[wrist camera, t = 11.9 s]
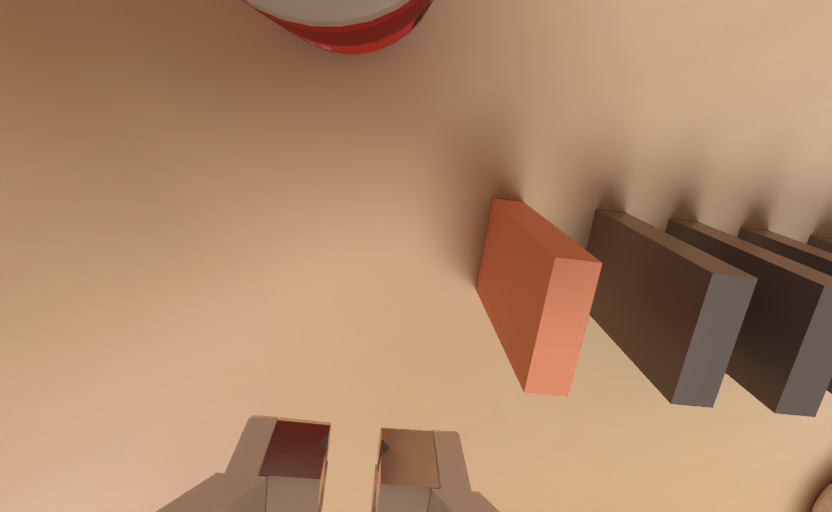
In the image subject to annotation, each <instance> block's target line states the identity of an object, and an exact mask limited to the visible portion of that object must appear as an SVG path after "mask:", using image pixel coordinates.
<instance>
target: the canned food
mask: <svg viewBox="0 0 832 512" xmlns="http://www.w3.org/2000/svg"><path fill="white" fill-rule="evenodd" d="M242 1H244V2H245V3H247V4H248V5H250V6H251V7H253V8H254V9H256V10H257V11H259V12H260V13H262V14H263V15H265V16H266V17H268V18H270V19H271V20H273V21H274V22H276V23H278V24H279V25H281V26H282V27H284V28H286V29H287V30H289V31H290V32H292V33H294V34H295V35H297V36H299V37H300V38H302V39H303V40H305V41H307V42H308V43H310V44H313V45H315V46H317V47H320V48H322V49H325V50H329V51H333V52H338V53H349V54H361V53H366V52H371V51H376V50H379V49H382V48H384V47H386V46H389V45H391V44H393V43H395V42H396V41H398V40H399V39H401V38H402V37H404V36H405V35H407V34H408V33H409V32H410V31H411V30H412V29H413V28H414V27H415V26H416V25H417V24H418V23H419V22H420V21H421V19H422V17H423V16H424V14H425V13H426V11H427V10H428V8H429V6H430V5H431V3H432V1H433V0H242Z"/></svg>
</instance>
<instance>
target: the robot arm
mask: <svg viewBox="0 0 832 512" xmlns="http://www.w3.org/2000/svg"><path fill="white" fill-rule="evenodd" d="M330 434H331V423H329V422H319V421H310V420H300V419H290V418H281V417H280V418H278V417H269V416H257V415H252V416H251V417H250V418H249V419H248V421H247V424H246V426H245V428H244V430H243V433H242V435H241V437H240V439H239V442H238V444H237V446H236V449H235V451H234V453H233V455H232V458H231V460H230V462H229V465H228V467H227V469H226V471H225V473H215V474H214V475H212V476H211V477H209V478H208V479H206V480H205V481H203V482H201V483H200V484H198V485H197V486H195V487H194V488H192V489H191V490H189V491H187V492H186V493H184V494H183V495H181V496H180V497H178V498H177V499H175V500H173V501H172V502H170V503H169V504H167V505H166V506H164V507H163V508H161V509H159V510H158V511H156V512H322V505H323V498H324V491H325V484H326V475H327V466H328V461H327V457H328V451H329V444H330ZM371 512H500V511H499V510H497V509H496V508H495V507H494V506H493V505H492V504H491V503H490V502H489V501H488V500H487V499H486V498H485V497H484V496H483V495H482V494H481V493H480V492H474V491H471V487H470V482H469V478H468V473H467V468H466V464H465V459H464V454H463V450H462V445H461V440H460V436H459V434H458V433H457V432H456V431H435V430H432V431H424V430H410V429H396V428H382V427H381V429H380V435H379V442H378V457H377V464H376V465H375V474H374V483H373V491H372V505H371Z"/></svg>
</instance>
